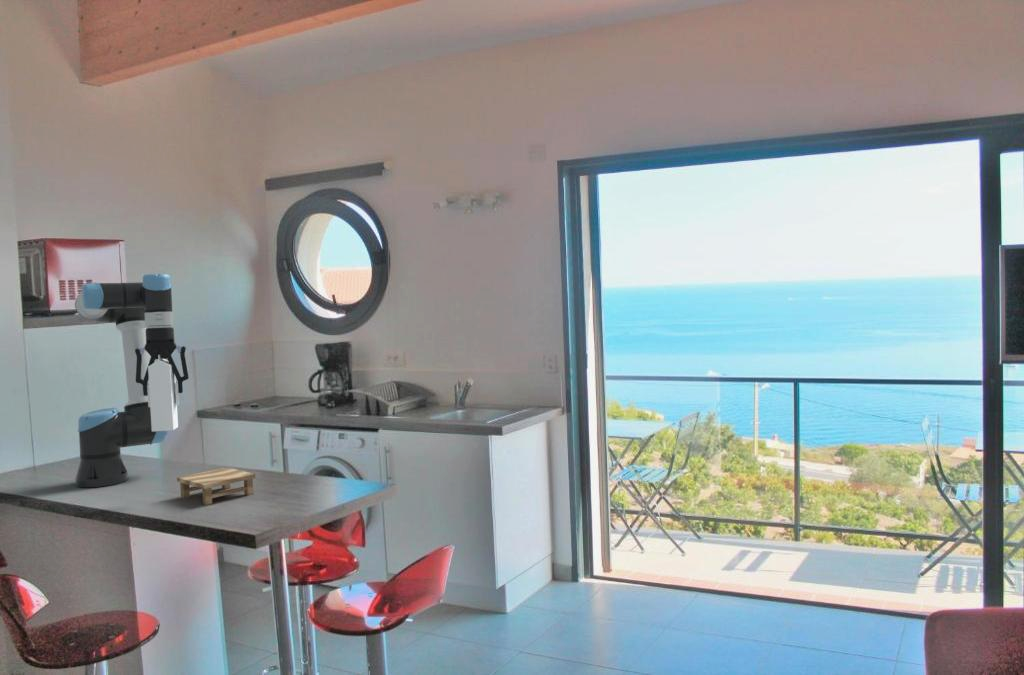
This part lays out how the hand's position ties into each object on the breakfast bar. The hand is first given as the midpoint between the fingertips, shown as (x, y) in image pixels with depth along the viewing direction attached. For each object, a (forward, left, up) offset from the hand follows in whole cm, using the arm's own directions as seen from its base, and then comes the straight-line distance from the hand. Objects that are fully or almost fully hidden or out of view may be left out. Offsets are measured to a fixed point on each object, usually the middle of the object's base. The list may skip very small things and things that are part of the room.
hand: (164, 405), depth 232 cm
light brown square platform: (+9, +10, -28) cm, 31 cm away
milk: (0, 0, -7) cm, 7 cm away
